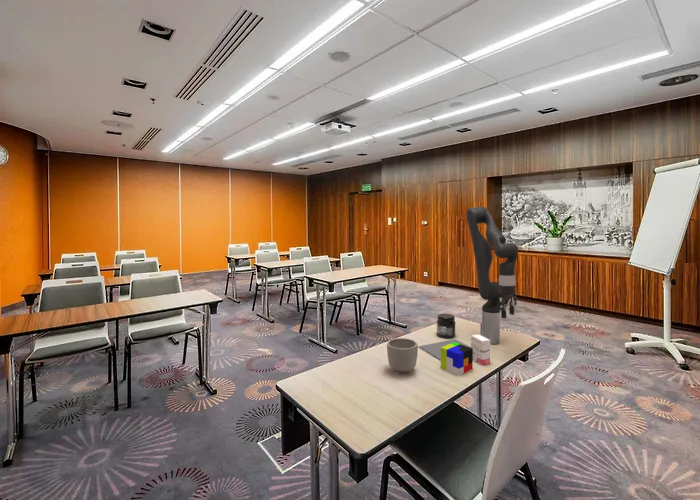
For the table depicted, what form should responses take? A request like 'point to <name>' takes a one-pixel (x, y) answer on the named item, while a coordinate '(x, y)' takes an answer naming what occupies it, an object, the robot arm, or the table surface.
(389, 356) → the planter
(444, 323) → the supplement container
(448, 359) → the puzzle toy
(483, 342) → the ink box
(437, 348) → the mat
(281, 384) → the table surface
